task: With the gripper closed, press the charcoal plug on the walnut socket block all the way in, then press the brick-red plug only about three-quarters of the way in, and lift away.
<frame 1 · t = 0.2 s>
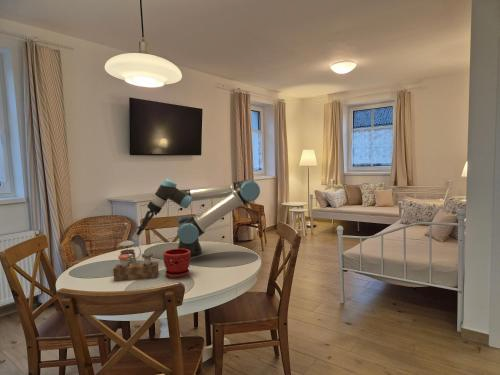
hand: (135, 236, 178), 16 cm above the table, fingers open, 13 cm apart
socket block: (137, 276, 158), on the table
red plug: (124, 262, 157), point 8 cm above the table, slide at 0.0 cm
french press: (130, 268, 172), on the table
plant pot: (178, 274, 160), on the table
charcoal plug: (147, 261, 159), point 8 cm above the table, slide at 0.0 cm
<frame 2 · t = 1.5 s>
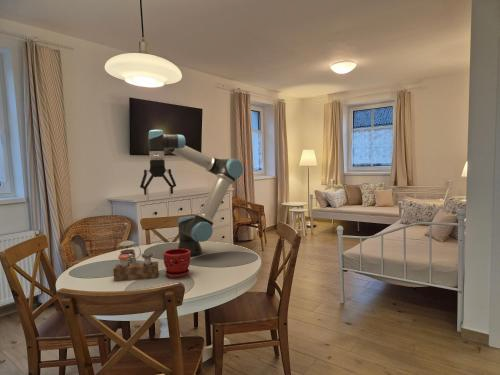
hand: (159, 200, 171), 36 cm above the table, fingers open, 11 cm apart
nothing on the table moved.
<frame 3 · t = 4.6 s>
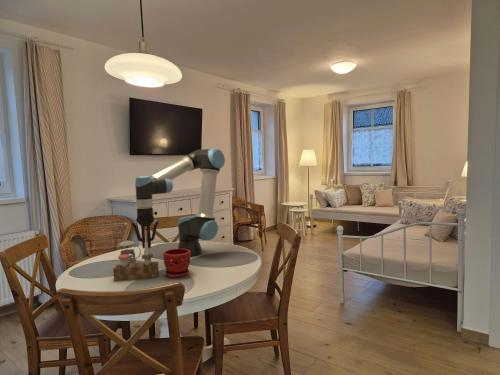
hand: (147, 254, 158), 11 cm above the table, fingers closed
charcoal plug: (147, 262, 159), point 7 cm above the table, slide at 0.6 cm, touching gripper
everything else where it was.
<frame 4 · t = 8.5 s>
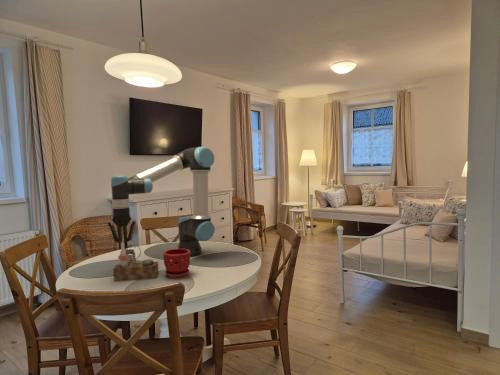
hand: (123, 255, 156), 11 cm above the table, fingers closed
red plug: (124, 262, 157), point 8 cm above the table, slide at 0.0 cm, touching gripper
charcoal plug: (148, 268, 159), point 4 cm above the table, slide at 3.6 cm
everything else where it was.
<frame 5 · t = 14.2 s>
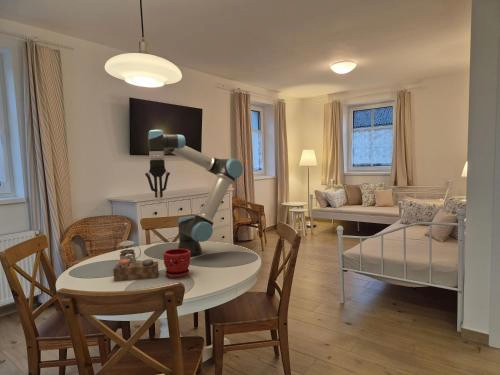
hand: (159, 203, 171), 34 cm above the table, fingers closed
red plug: (124, 267, 157), point 5 cm above the table, slide at 2.4 cm
everything else where it was.
at the end: charcoal plug slide at 3.6 cm; red plug slide at 2.4 cm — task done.
